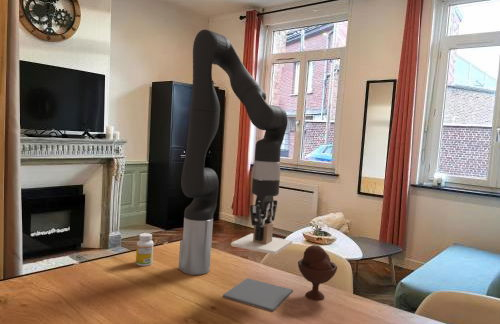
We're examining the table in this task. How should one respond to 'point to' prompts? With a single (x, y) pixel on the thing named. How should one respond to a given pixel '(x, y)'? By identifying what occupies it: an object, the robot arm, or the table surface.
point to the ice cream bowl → (316, 270)
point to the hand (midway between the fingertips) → (262, 238)
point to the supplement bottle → (144, 250)
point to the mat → (258, 294)
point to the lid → (263, 242)
